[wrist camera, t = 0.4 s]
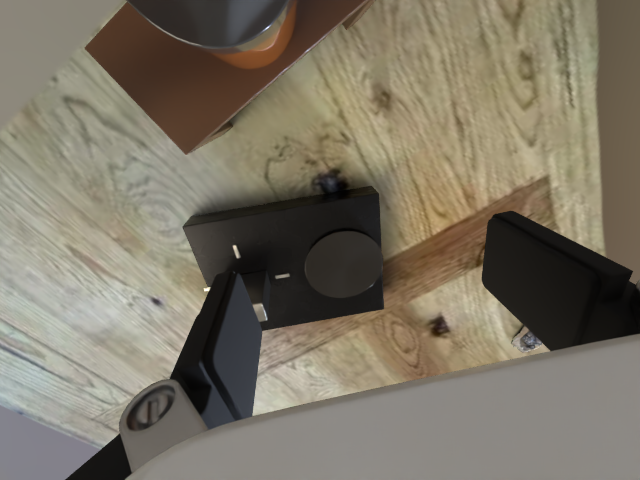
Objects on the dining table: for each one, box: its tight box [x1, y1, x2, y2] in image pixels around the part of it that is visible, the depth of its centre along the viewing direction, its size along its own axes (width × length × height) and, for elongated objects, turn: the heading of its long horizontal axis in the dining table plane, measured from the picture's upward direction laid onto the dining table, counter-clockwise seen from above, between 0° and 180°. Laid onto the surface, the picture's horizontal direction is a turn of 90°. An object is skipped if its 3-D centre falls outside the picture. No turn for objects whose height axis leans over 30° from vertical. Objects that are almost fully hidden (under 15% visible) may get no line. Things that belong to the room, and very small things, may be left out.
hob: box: [183, 186, 384, 331], centre depth 29 cm, size 14×18×3 cm
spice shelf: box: [85, 0, 376, 155], centre depth 17 cm, size 6×14×10 cm, turn 125°
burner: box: [305, 230, 383, 298], centre depth 28 cm, size 8×8×1 cm
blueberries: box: [511, 326, 542, 353], centre depth 39 cm, size 7×8×2 cm
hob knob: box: [241, 271, 271, 322], centre depth 26 cm, size 4×2×5 cm, turn 98°
